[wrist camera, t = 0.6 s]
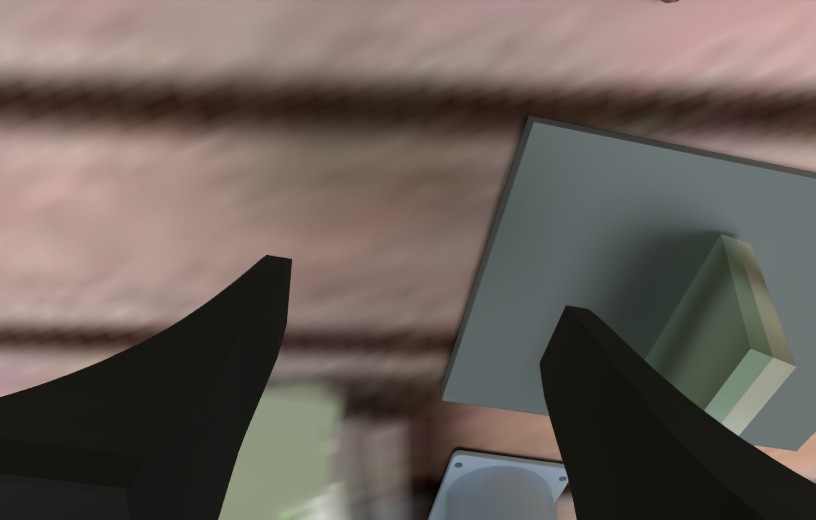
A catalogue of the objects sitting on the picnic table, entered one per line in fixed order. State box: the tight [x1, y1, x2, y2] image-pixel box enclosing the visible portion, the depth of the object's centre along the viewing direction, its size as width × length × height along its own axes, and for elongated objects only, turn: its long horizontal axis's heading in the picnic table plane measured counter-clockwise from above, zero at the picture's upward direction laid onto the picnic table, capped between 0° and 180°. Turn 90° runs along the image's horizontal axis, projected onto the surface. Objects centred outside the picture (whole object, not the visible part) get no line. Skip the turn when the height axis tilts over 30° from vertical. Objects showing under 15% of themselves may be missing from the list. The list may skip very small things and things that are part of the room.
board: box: [441, 115, 816, 451], centre depth 25 cm, size 16×22×1 cm
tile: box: [645, 234, 797, 436], centre depth 20 cm, size 9×10×1 cm
